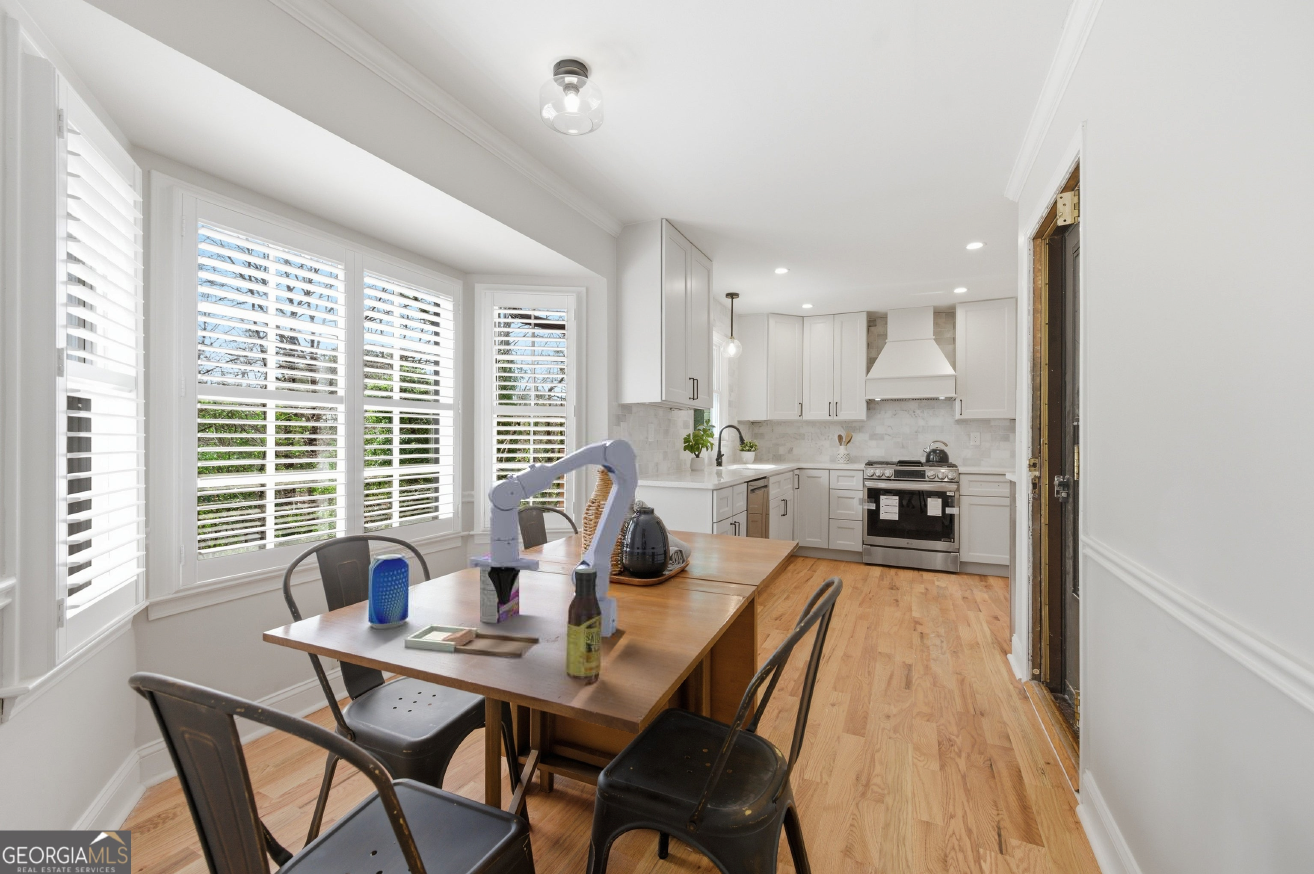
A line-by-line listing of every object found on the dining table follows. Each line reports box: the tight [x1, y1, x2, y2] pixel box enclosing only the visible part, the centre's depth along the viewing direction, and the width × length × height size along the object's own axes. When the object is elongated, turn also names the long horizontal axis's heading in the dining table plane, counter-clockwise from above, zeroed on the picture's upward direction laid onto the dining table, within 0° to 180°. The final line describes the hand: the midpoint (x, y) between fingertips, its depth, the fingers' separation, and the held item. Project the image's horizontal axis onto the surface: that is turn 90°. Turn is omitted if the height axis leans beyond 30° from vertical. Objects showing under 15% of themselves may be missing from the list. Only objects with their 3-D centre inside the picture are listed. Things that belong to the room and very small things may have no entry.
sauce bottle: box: [565, 568, 602, 686], centre depth 104 cm, size 6×6×20 cm
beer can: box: [367, 552, 410, 630], centre depth 132 cm, size 8×8×16 cm
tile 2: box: [442, 629, 474, 646], centre depth 117 cm, size 4×4×2 cm
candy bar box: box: [479, 552, 520, 624], centre depth 135 cm, size 11×5×16 cm, turn 168°
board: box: [453, 631, 540, 659], centre depth 115 cm, size 14×9×2 cm, turn 78°
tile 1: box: [421, 631, 453, 641], centre depth 118 cm, size 4×4×2 cm
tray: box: [404, 624, 478, 652], centre depth 118 cm, size 11×9×3 cm
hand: (504, 603), depth 118 cm, fingers closed
